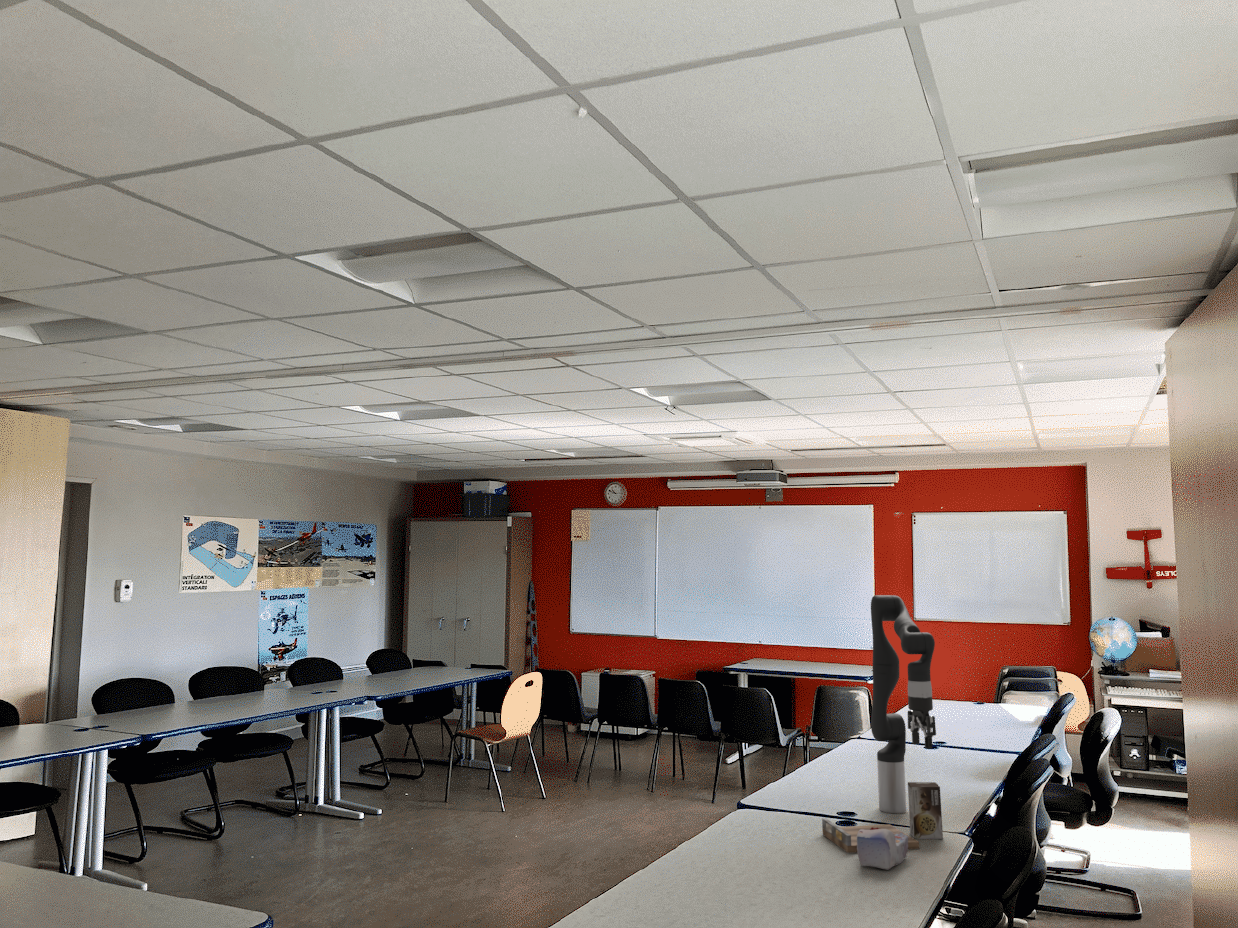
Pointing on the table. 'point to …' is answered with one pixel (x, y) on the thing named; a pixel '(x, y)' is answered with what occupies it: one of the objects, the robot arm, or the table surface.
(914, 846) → the shelf board
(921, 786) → the coffee box
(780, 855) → the table surface
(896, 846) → the cell model
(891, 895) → the table surface
